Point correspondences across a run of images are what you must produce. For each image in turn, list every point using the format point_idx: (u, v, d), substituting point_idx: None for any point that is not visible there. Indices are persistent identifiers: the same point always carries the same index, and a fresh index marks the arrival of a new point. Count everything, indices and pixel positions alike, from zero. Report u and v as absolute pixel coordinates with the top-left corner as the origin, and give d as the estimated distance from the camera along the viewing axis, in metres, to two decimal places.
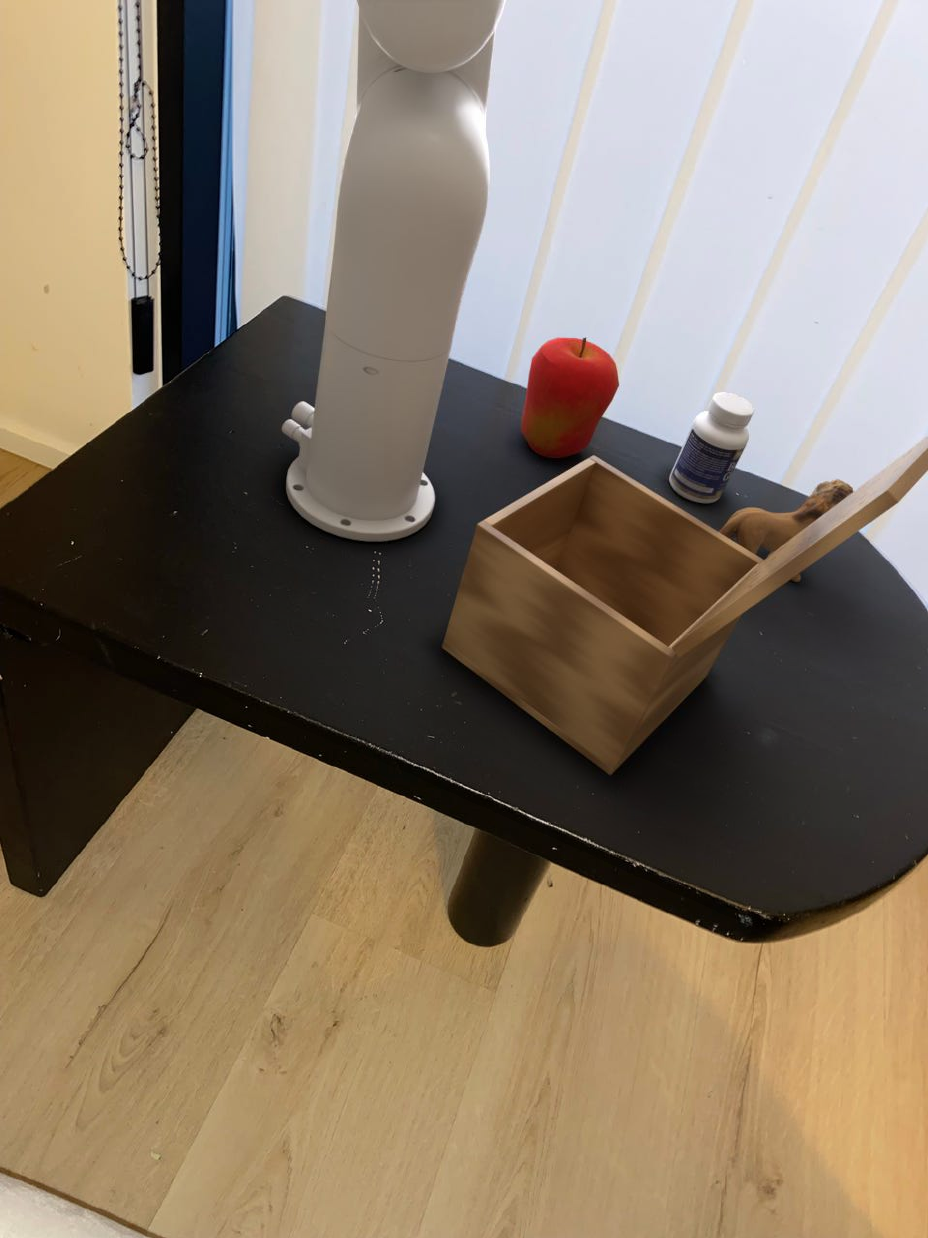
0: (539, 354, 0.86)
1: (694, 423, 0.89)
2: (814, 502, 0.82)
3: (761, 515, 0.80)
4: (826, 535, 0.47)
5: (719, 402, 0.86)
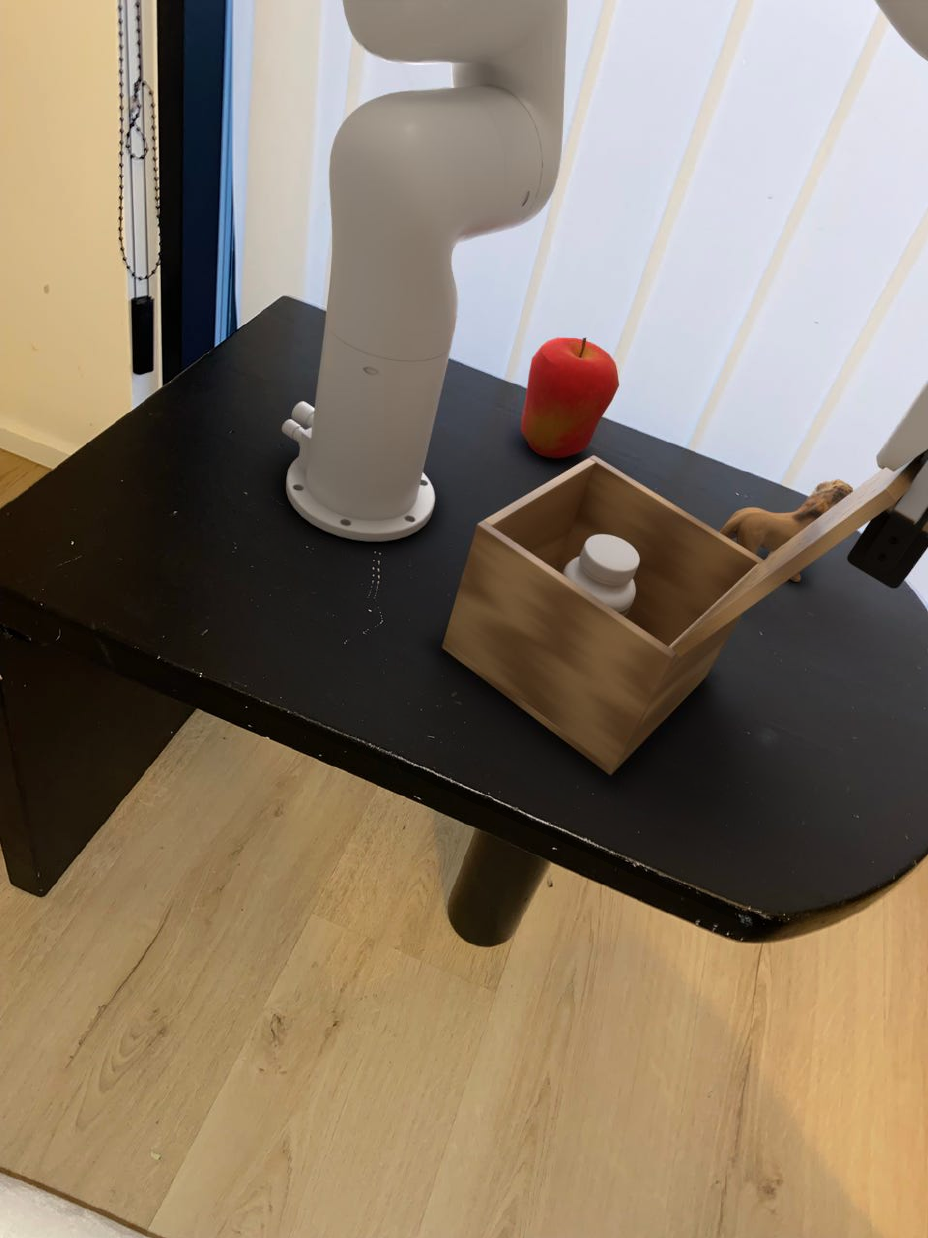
0: (539, 354, 0.86)
1: None
2: (814, 502, 0.82)
3: (761, 515, 0.80)
4: (825, 534, 0.47)
5: (592, 551, 0.64)
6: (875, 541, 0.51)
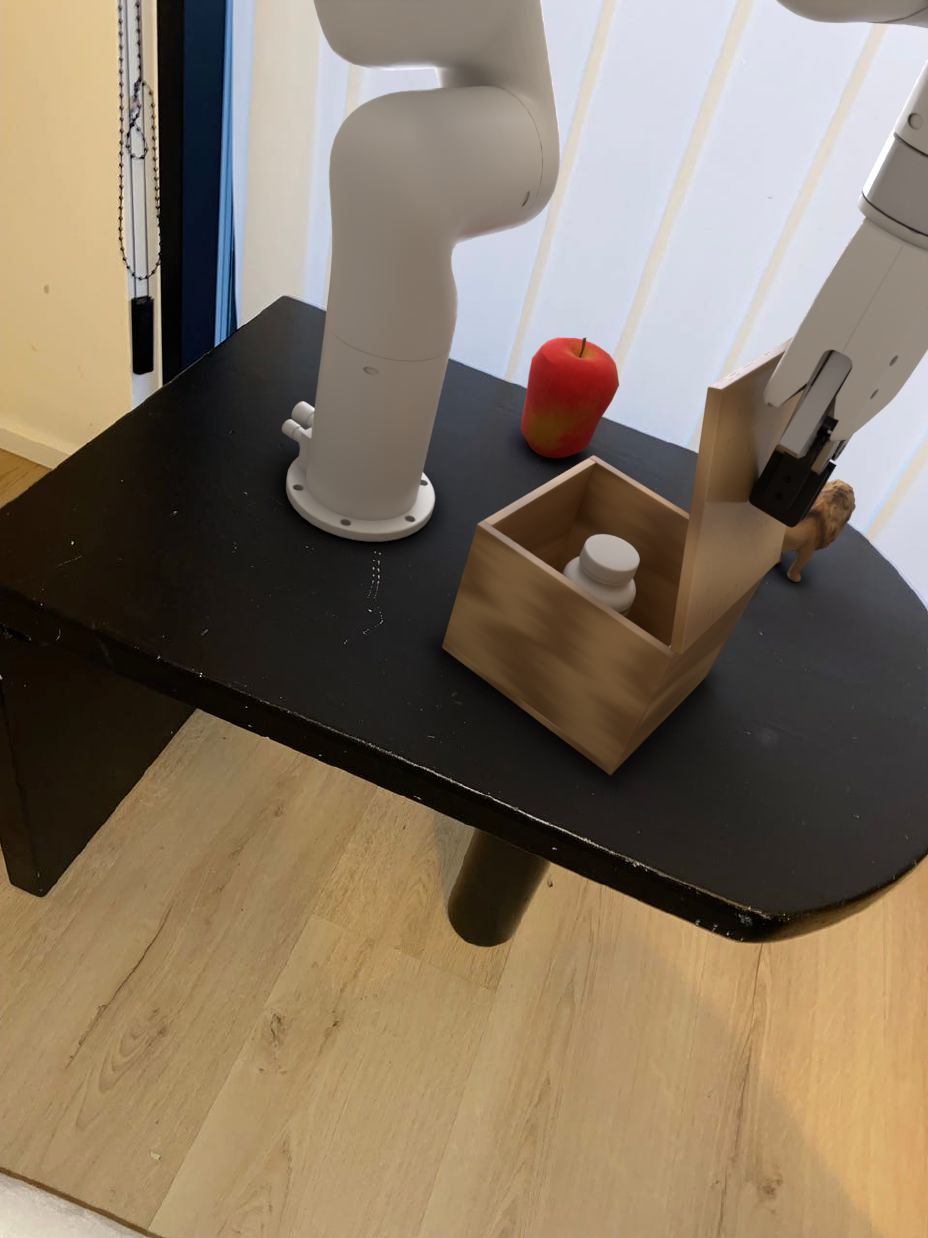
0: (539, 354, 0.86)
1: None
2: None
3: None
4: (698, 458, 0.50)
5: (592, 551, 0.64)
6: (772, 481, 0.54)
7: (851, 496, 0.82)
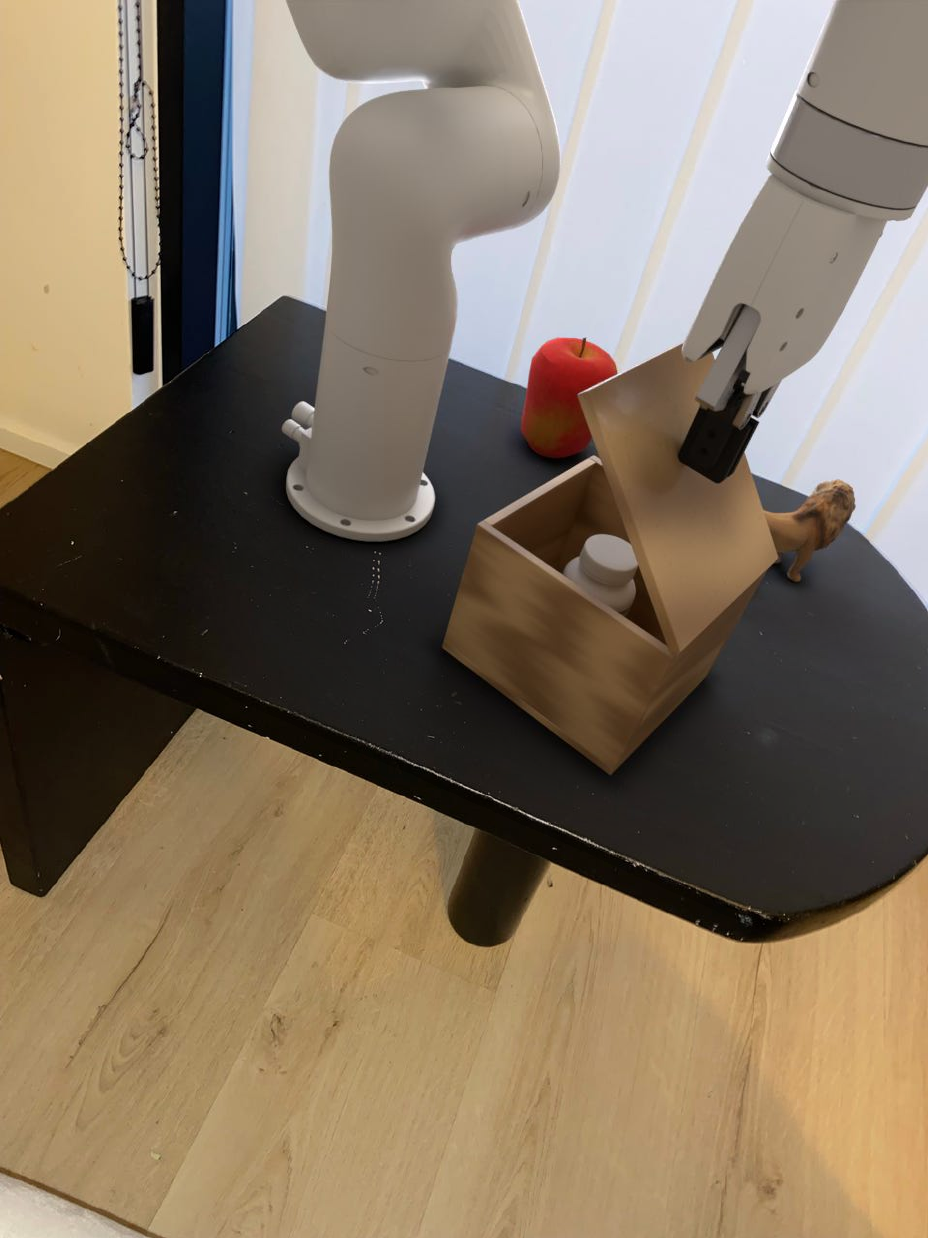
0: (539, 354, 0.86)
1: None
2: (814, 502, 0.82)
3: None
4: (600, 459, 0.54)
5: (592, 551, 0.64)
6: (697, 437, 0.56)
7: (851, 496, 0.82)
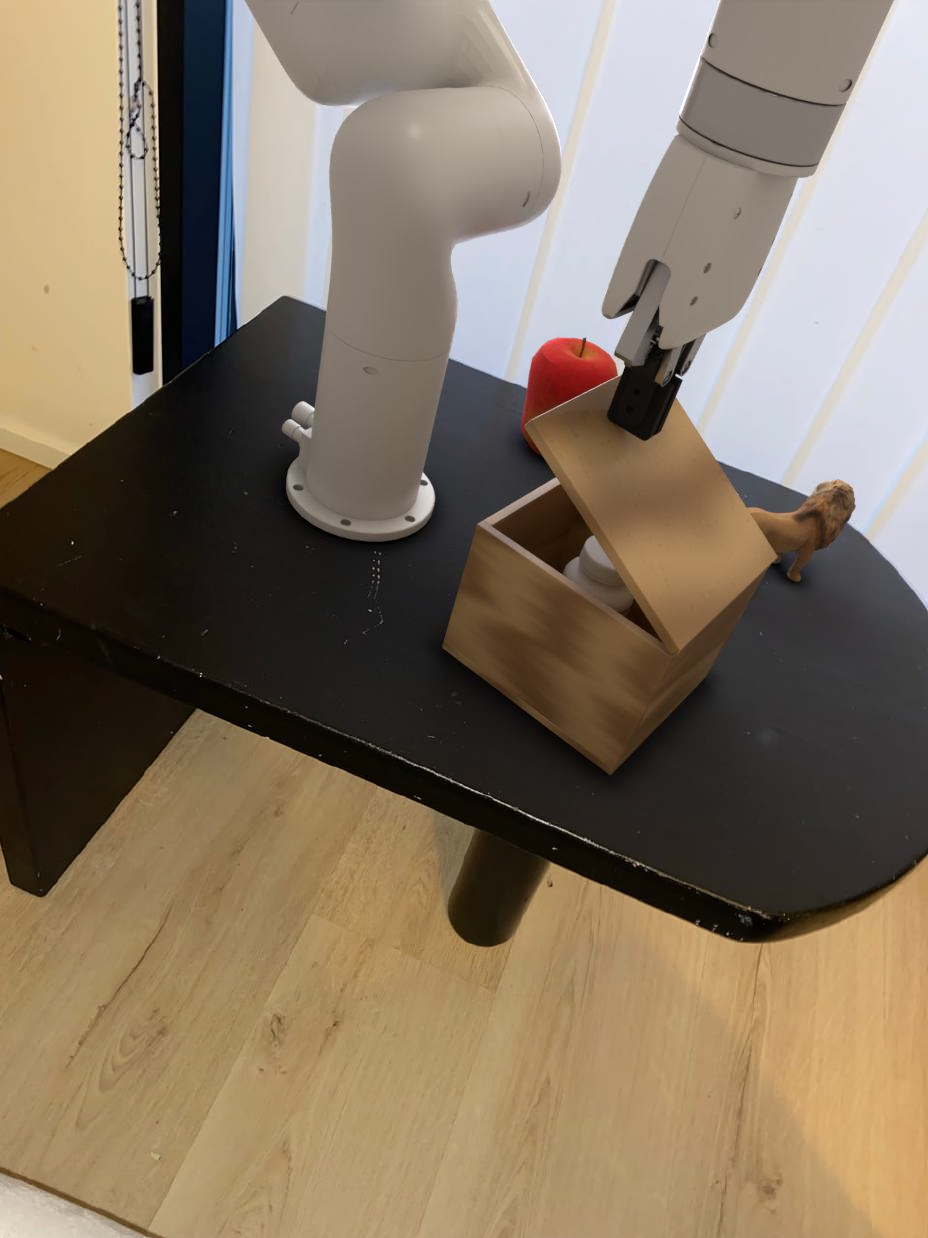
0: (539, 354, 0.86)
1: None
2: (814, 502, 0.82)
3: (761, 515, 0.80)
4: (559, 480, 0.56)
5: (592, 551, 0.65)
6: (623, 395, 0.57)
7: (851, 496, 0.82)
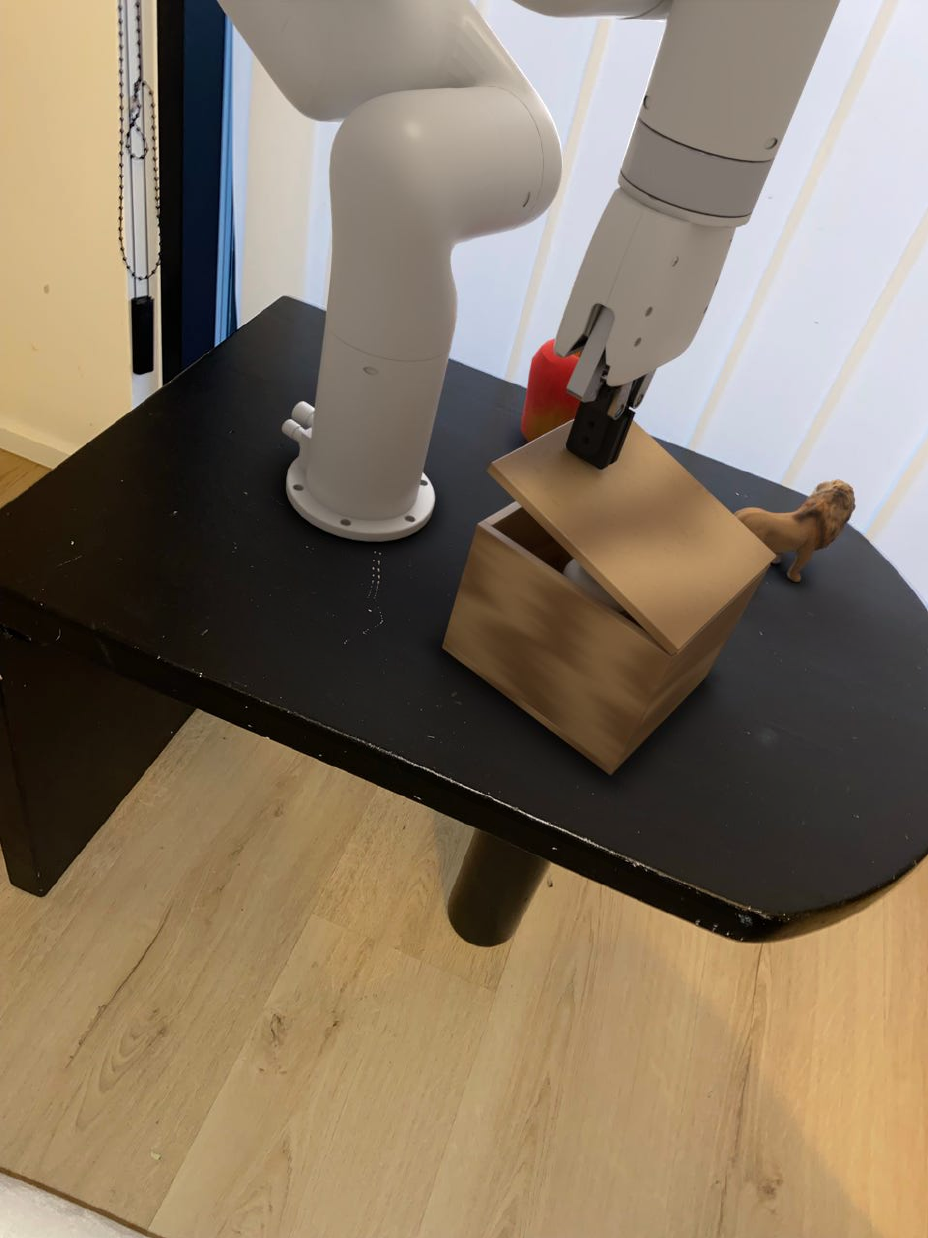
0: (539, 354, 0.86)
1: None
2: (814, 502, 0.82)
3: (761, 515, 0.80)
4: (529, 513, 0.59)
5: None
6: (579, 427, 0.60)
7: (851, 496, 0.82)
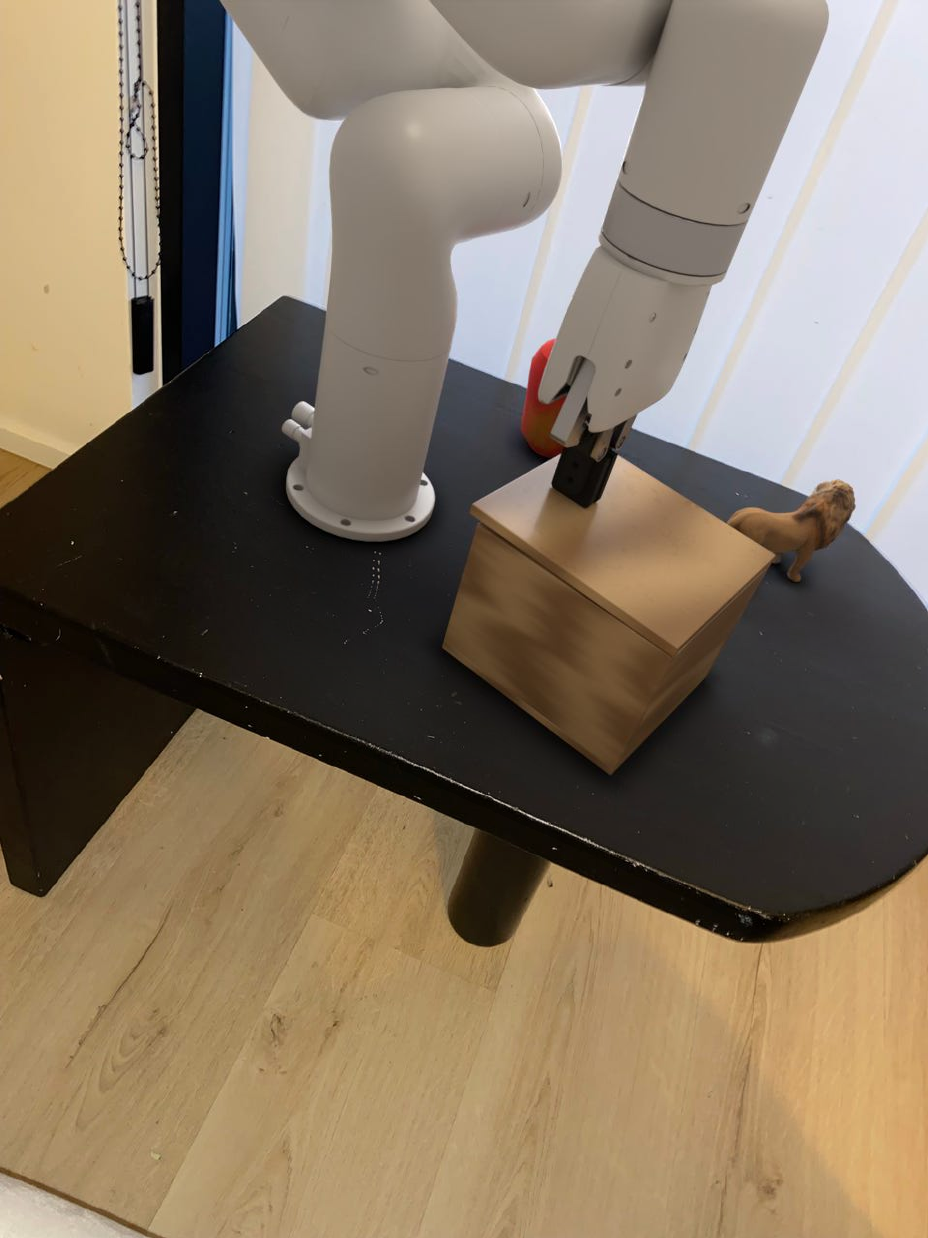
0: (539, 354, 0.86)
1: None
2: (814, 502, 0.82)
3: (761, 515, 0.80)
4: (514, 544, 0.61)
5: None
6: (564, 467, 0.63)
7: (851, 496, 0.82)
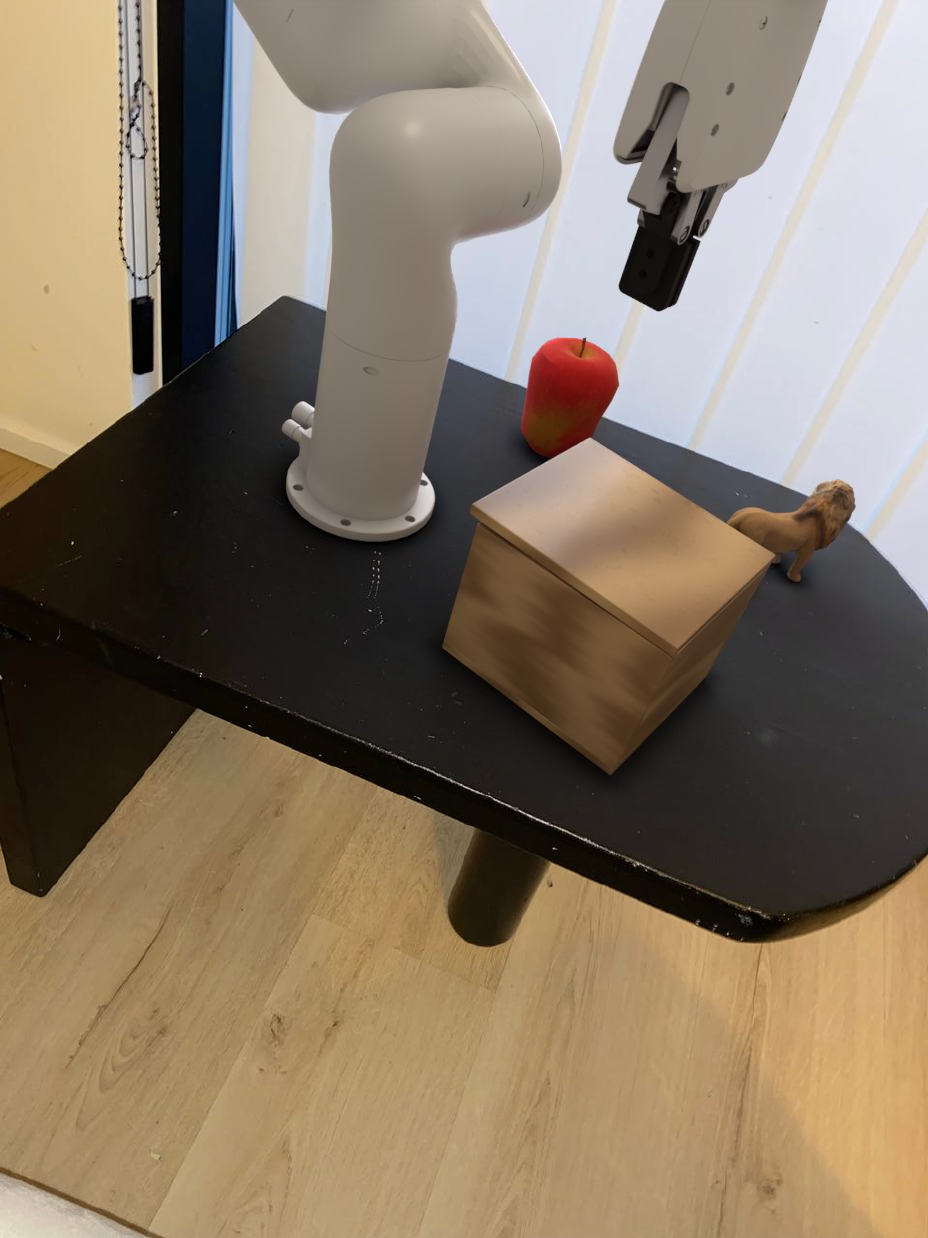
0: (539, 354, 0.86)
1: None
2: (814, 502, 0.82)
3: (761, 515, 0.80)
4: (514, 544, 0.61)
5: None
6: (636, 259, 0.53)
7: (851, 496, 0.82)
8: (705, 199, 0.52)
